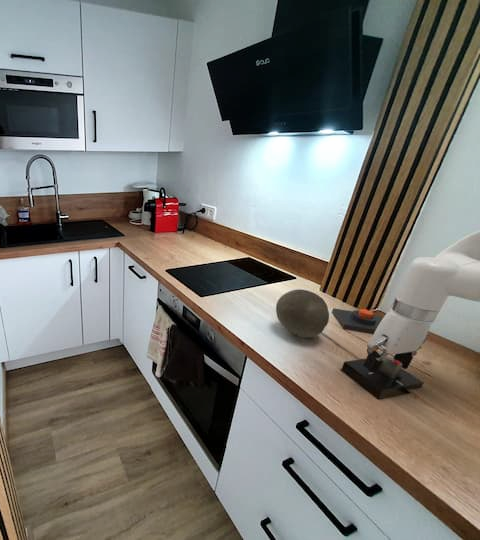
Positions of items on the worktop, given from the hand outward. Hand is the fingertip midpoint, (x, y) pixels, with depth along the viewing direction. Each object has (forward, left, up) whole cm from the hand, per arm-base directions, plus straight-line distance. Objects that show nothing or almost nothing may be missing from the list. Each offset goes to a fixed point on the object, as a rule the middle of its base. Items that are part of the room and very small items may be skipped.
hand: (384, 367), depth 73 cm
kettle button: (-19, -21, 0) cm, 28 cm away
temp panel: (0, 0, -4) cm, 4 cm away
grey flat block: (-19, -21, -4) cm, 29 cm away
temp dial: (0, 0, -1) cm, 1 cm away
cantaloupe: (+6, -22, -5) cm, 23 cm away
